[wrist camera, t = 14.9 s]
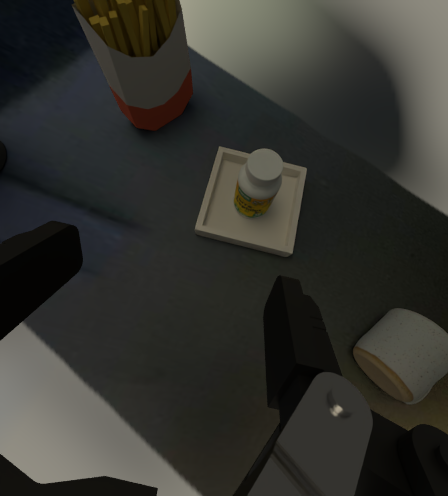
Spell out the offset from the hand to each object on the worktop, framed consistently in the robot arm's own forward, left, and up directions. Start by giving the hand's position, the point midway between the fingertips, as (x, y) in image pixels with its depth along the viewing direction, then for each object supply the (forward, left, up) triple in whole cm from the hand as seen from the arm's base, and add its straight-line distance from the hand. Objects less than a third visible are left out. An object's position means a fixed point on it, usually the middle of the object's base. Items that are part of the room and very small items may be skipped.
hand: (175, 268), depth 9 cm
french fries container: (-14, +27, -22) cm, 38 cm away
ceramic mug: (+26, -2, -22) cm, 35 cm away
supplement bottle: (+4, +15, -22) cm, 26 cm away
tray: (+4, +15, -22) cm, 27 cm away
